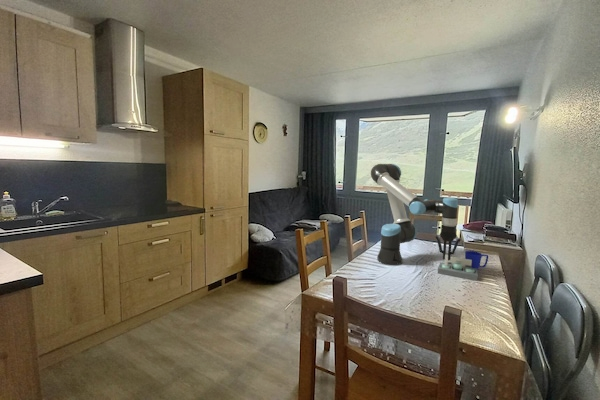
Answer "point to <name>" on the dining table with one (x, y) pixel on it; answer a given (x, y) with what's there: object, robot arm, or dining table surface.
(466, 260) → the pattern card
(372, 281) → the dining table surface
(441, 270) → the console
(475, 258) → the mug
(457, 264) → the button middle
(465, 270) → the button right
